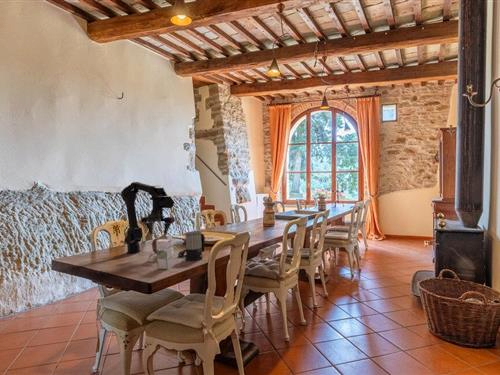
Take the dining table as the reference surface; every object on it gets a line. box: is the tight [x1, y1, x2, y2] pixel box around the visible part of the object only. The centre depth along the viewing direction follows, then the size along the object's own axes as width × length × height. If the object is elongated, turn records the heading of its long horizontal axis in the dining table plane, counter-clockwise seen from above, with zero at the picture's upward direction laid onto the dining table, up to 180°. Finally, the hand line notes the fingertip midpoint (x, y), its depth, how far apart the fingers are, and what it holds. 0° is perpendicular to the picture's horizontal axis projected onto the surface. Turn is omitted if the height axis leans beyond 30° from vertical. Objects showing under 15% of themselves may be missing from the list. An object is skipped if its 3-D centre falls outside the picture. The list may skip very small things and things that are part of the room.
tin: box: [151, 235, 169, 253], centre depth 200 cm, size 15×3×8 cm, turn 166°
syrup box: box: [156, 238, 173, 270], centre depth 175 cm, size 6×6×14 cm
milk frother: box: [177, 230, 206, 262], centre depth 196 cm, size 14×16×15 cm
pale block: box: [148, 247, 175, 263], centre depth 200 cm, size 10×20×4 cm, turn 3°
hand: (158, 234), depth 202 cm, fingers open, 9 cm apart
